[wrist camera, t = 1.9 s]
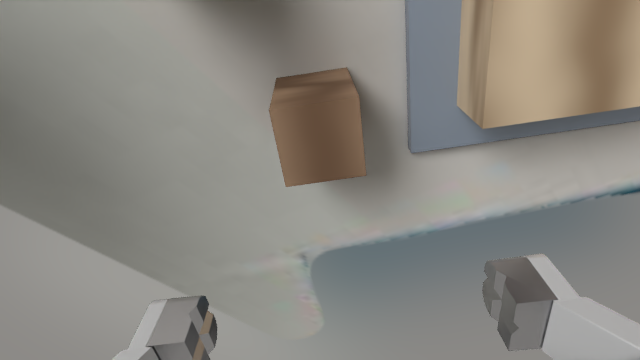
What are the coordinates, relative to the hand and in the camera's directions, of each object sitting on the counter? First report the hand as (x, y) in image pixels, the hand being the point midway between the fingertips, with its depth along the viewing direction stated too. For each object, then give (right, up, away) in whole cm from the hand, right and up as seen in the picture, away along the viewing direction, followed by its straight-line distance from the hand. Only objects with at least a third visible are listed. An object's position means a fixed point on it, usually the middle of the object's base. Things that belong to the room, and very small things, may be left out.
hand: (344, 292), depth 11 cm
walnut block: (-1, +8, +14) cm, 16 cm away
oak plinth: (+12, +13, +11) cm, 21 cm away
